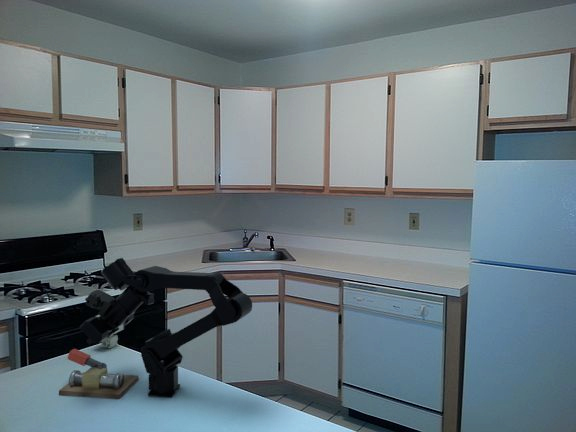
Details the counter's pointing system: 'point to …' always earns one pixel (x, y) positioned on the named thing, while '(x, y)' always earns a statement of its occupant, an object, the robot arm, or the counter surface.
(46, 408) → the counter surface
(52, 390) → the counter surface
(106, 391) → the mounting board
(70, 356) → the lever
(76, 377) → the valve body
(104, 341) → the pneumatic valve
